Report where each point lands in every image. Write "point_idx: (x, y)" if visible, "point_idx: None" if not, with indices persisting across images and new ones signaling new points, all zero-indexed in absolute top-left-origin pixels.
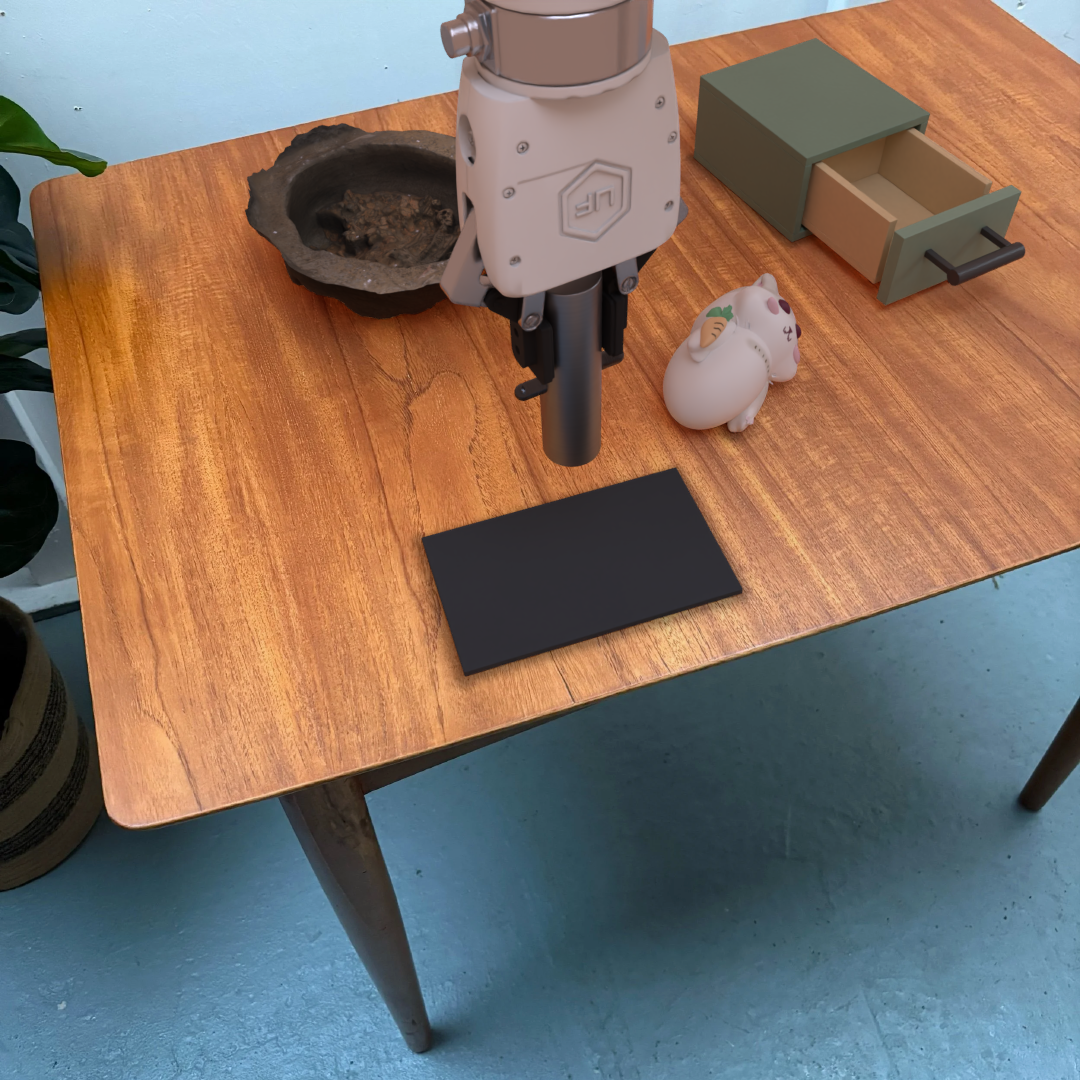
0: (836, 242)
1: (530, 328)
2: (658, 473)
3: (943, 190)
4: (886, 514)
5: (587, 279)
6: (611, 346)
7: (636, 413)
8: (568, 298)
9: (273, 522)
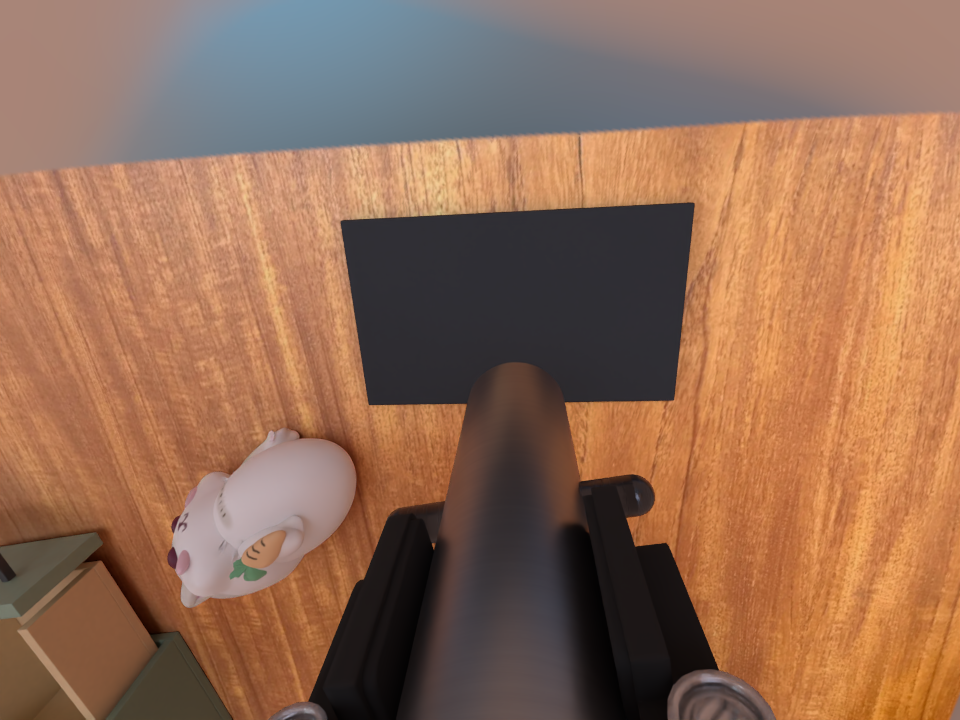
0: (124, 619)
1: (714, 682)
2: (390, 402)
3: None
4: (157, 277)
5: None
6: (412, 539)
7: (391, 485)
8: None
9: (818, 470)
